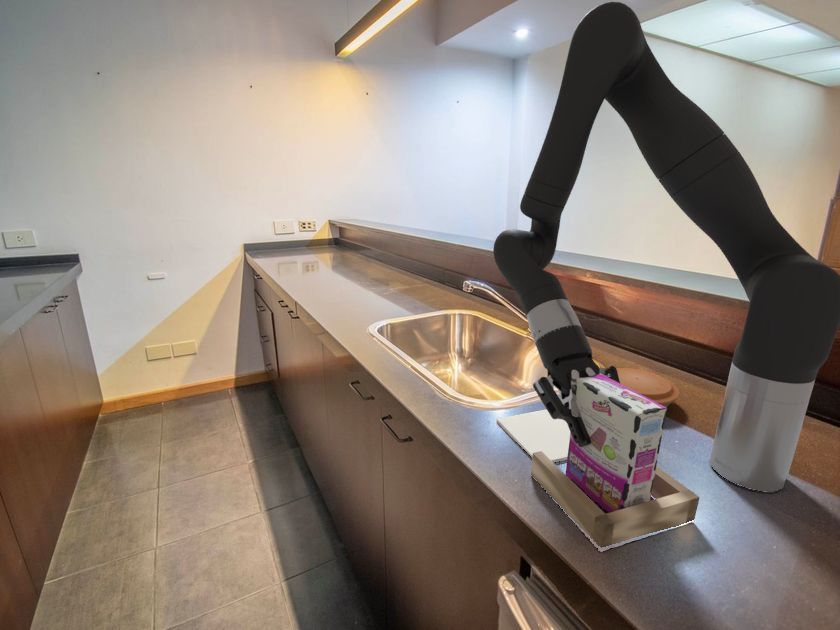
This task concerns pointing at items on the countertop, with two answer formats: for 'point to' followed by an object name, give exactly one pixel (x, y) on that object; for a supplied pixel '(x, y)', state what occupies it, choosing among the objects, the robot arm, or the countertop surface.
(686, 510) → the frame
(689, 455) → the countertop surface
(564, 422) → the mat
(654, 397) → the pie
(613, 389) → the candy bar box
